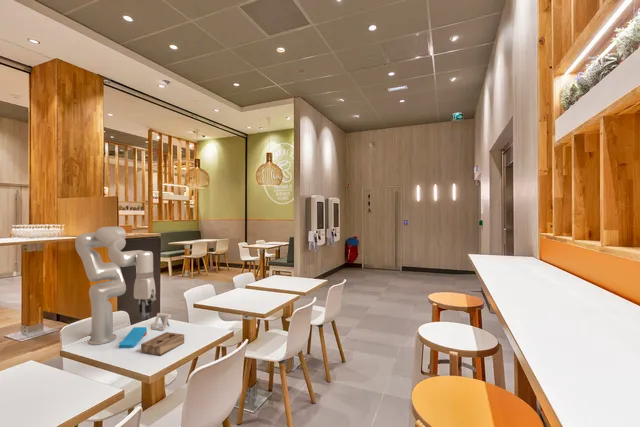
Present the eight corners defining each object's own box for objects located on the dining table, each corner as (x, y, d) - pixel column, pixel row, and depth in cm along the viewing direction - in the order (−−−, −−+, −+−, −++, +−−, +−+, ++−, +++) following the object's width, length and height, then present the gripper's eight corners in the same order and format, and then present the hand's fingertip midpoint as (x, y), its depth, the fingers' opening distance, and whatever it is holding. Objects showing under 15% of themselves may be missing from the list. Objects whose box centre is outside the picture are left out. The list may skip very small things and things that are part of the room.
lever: (134, 356, 160) (151, 333, 177) (132, 344, 158) (149, 323, 175) (121, 356, 160) (139, 333, 177) (118, 344, 158) (137, 323, 175)
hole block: (141, 353, 153) (141, 343, 153) (166, 340, 168) (166, 332, 168) (160, 356, 149) (160, 346, 149) (184, 342, 164) (184, 334, 164)
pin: (140, 320, 154) (140, 300, 155) (145, 318, 157) (145, 298, 157) (145, 320, 153) (144, 300, 154) (150, 318, 156) (149, 298, 156)
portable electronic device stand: (150, 329, 184) (150, 315, 184) (161, 325, 191) (160, 311, 191) (162, 331, 181) (162, 317, 181) (172, 326, 189) (172, 312, 189)
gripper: (126, 276, 155) (126, 313, 155) (150, 278, 149) (151, 316, 149) (139, 273, 162) (140, 308, 162) (163, 275, 156) (164, 311, 156)
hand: (145, 311), depth 155 cm, fingers closed on pin, 3 cm apart
